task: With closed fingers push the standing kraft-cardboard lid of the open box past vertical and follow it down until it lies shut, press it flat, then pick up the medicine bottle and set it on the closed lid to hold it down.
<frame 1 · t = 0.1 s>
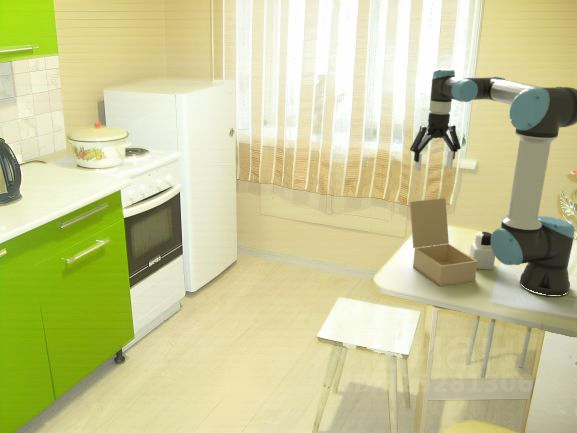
hand: (433, 169, 230), 28 cm above the table, fingers open, 13 cm apart
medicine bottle: (480, 265, 217), on the table
box: (443, 273, 209), on the table
lid: (429, 222, 214), point 14 cm above the table, hinge at 108.0°
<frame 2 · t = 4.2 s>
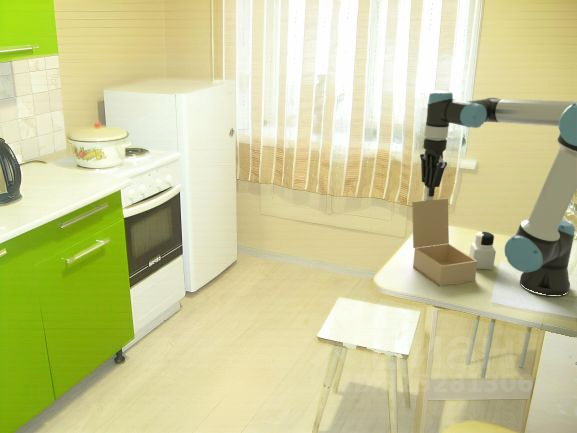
hand: (428, 204, 214), 21 cm above the table, fingers closed
lid: (430, 222, 213), point 15 cm above the table, hinge at 102.7°, touching gripper
everything else where it was.
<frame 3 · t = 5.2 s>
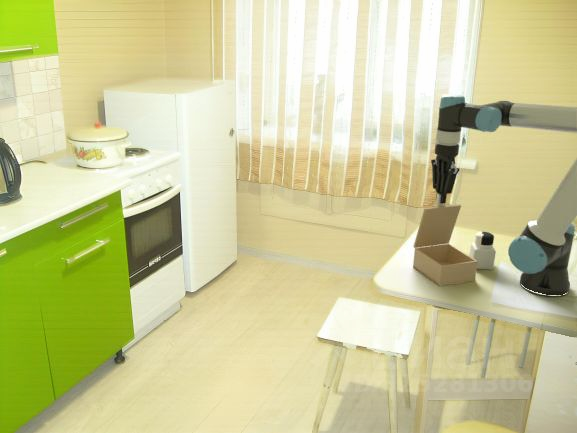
hand: (439, 211, 208), 20 cm above the table, fingers closed
lid: (437, 226, 210), point 15 cm above the table, hinge at 74.9°, touching gripper
everything else where it was.
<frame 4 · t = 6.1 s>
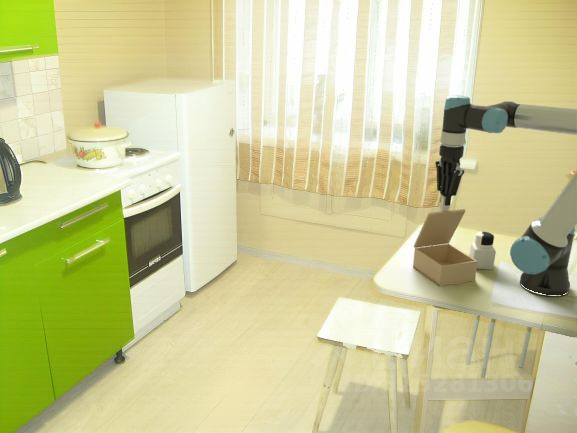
hand: (443, 213, 205), 20 cm above the table, fingers closed
lid: (439, 228, 209), point 14 cm above the table, hinge at 64.9°, touching gripper
everything else where it was.
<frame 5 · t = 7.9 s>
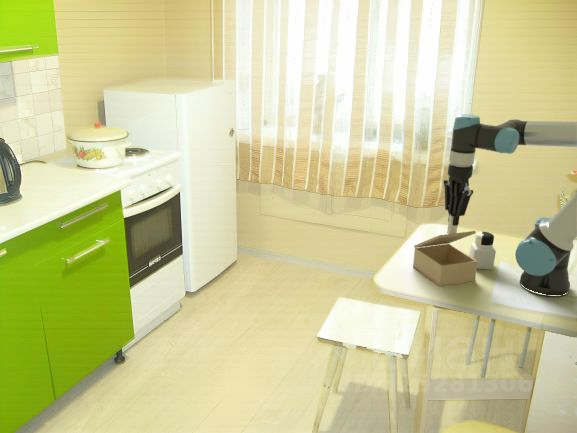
hand: (451, 233, 202), 15 cm above the table, fingers closed
lid: (444, 239, 206), point 12 cm above the table, hinge at 33.4°, touching gripper
everything else where it was.
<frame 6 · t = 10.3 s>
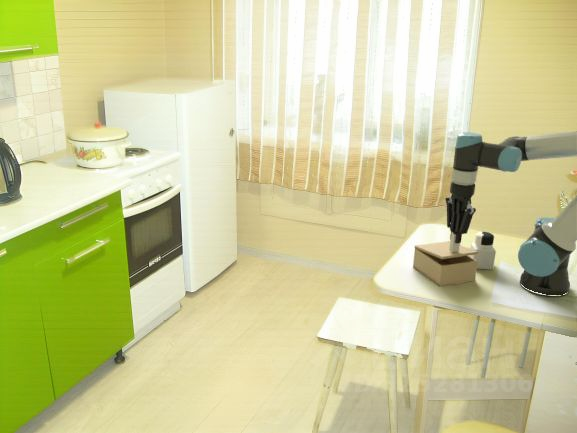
hand: (454, 250, 202), 10 cm above the table, fingers closed
lid: (445, 249, 206), point 9 cm above the table, hinge at 8.5°, touching gripper
everything else where it was.
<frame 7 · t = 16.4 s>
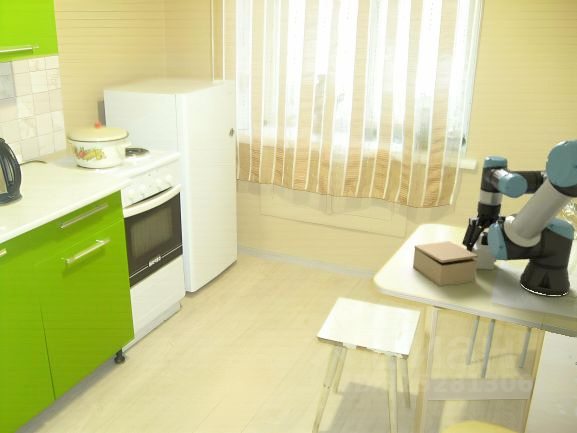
hand: (481, 262, 216), 1 cm above the table, fingers closed on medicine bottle, 9 cm apart
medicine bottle: (480, 265, 217), on the table, touching gripper
lid: (445, 251, 206), point 8 cm above the table, hinge at 4.1°
when the fingers open (10 cm above the table, at t = 22.1 s): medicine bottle drops 1 cm, resting on lid.
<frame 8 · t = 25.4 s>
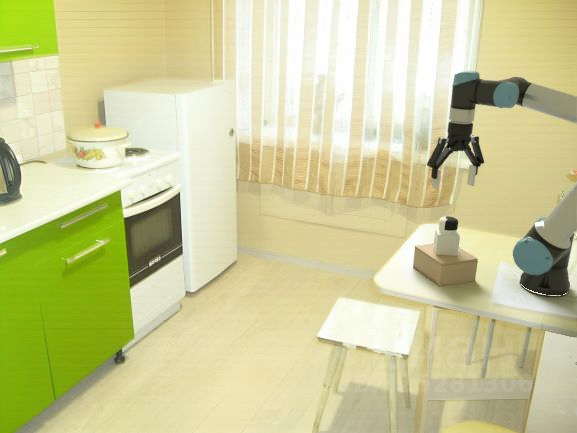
hand: (453, 186, 199), 31 cm above the table, fingers open, 13 cm apart
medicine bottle: (445, 252, 207), point 8 cm above the table, touching lid
lid: (445, 253, 206), point 7 cm above the table, hinge at 0.0°, touching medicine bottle
at the end: lid at +0° (first picture: +108°); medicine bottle inside the target area (0.0 cm from its centre), point 7.6 cm above the table; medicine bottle tilted 0° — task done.
